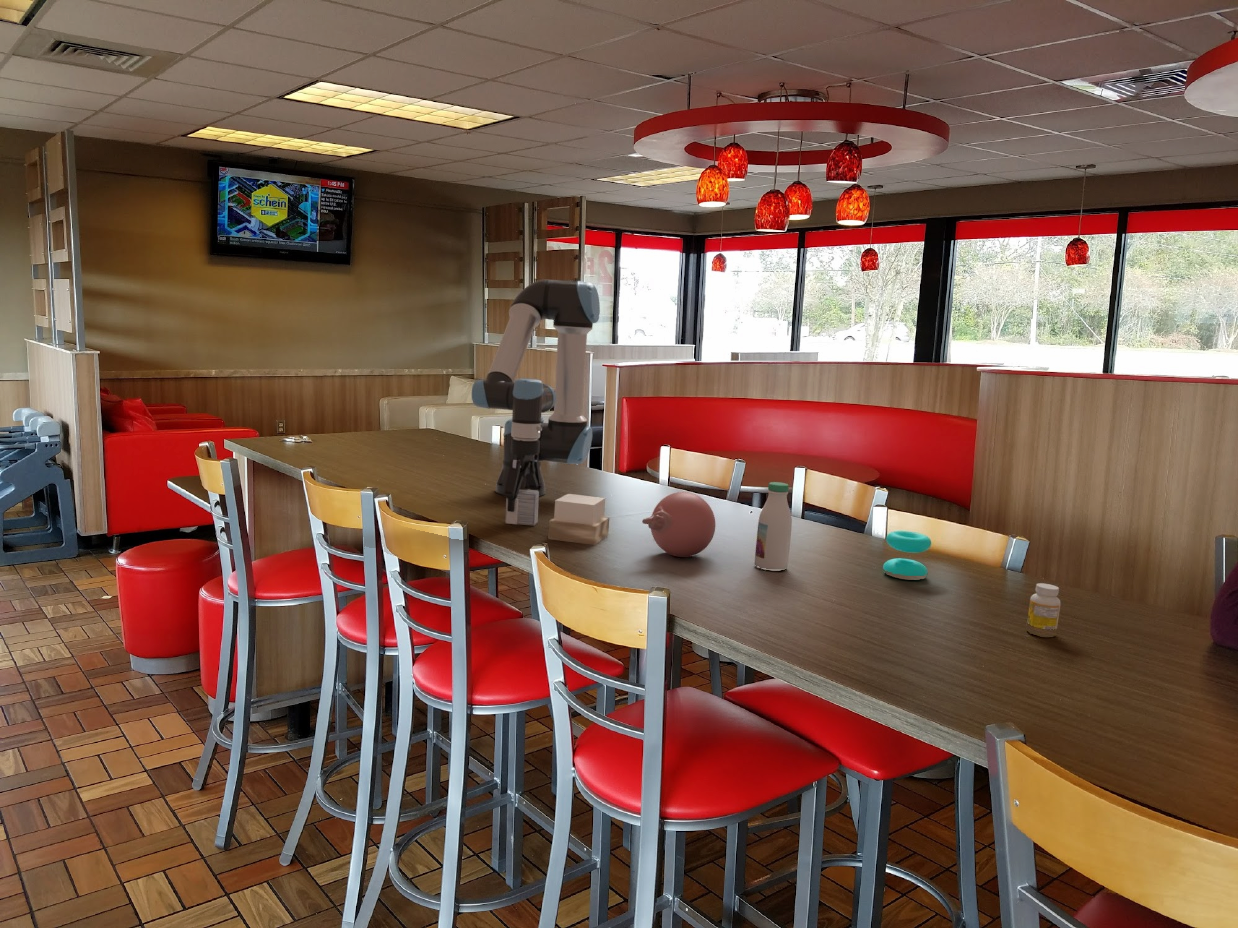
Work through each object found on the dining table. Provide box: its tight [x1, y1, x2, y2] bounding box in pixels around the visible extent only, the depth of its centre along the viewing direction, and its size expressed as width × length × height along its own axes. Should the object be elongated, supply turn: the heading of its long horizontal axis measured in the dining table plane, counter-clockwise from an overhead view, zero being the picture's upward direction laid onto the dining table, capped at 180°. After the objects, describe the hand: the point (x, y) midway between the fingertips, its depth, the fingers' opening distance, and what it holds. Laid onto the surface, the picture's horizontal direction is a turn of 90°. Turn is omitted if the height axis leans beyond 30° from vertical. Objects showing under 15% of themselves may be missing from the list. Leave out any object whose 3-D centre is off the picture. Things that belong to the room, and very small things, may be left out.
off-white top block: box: [553, 493, 606, 525], centre depth 231 cm, size 10×10×5 cm
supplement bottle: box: [1026, 582, 1061, 630], centre depth 178 cm, size 5×5×10 cm
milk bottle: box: [754, 481, 793, 569], centre depth 213 cm, size 8×8×20 cm
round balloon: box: [642, 491, 716, 558], centre depth 217 cm, size 15×20×15 cm
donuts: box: [882, 530, 932, 576], centre depth 214 cm, size 10×10×10 cm
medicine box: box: [504, 489, 540, 526], centre depth 242 cm, size 8×4×9 cm, turn 84°
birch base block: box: [547, 516, 610, 546], centre depth 232 cm, size 12×12×5 cm
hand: (521, 518), depth 242 cm, fingers open, 13 cm apart
